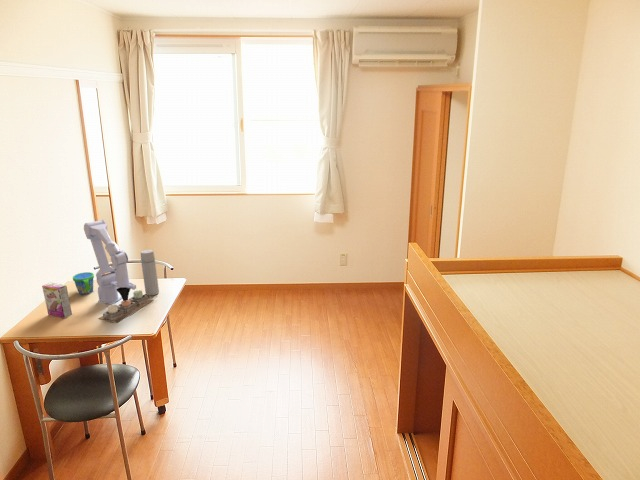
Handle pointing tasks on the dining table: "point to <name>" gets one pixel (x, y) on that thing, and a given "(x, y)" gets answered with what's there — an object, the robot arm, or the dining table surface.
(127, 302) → the terracotta button
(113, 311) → the cream button
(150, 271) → the water bottle
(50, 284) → the candy bar box
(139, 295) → the sage button
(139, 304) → the button board
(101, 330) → the dining table surface
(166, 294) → the dining table surface
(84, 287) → the snack cup
